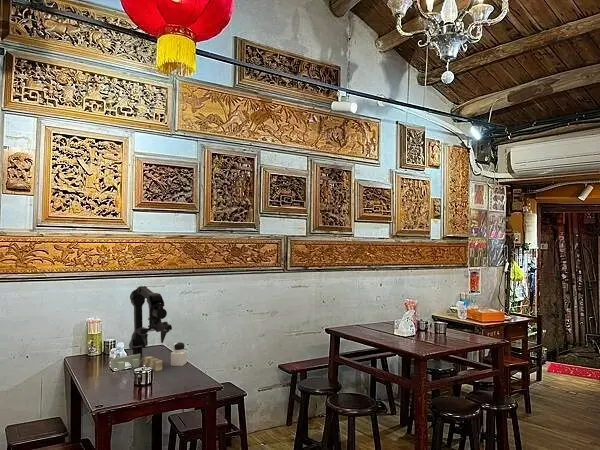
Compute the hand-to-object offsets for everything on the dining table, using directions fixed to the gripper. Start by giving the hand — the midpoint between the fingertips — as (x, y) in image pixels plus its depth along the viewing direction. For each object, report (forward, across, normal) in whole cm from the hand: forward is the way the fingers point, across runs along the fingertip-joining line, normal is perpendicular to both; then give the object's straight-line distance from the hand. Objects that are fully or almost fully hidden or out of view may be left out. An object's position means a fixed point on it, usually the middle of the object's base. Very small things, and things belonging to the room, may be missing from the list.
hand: (154, 344), depth 269 cm
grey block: (+13, -11, +10) cm, 20 cm away
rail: (+13, -1, 0) cm, 13 cm away
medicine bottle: (+13, +13, -5) cm, 18 cm away
